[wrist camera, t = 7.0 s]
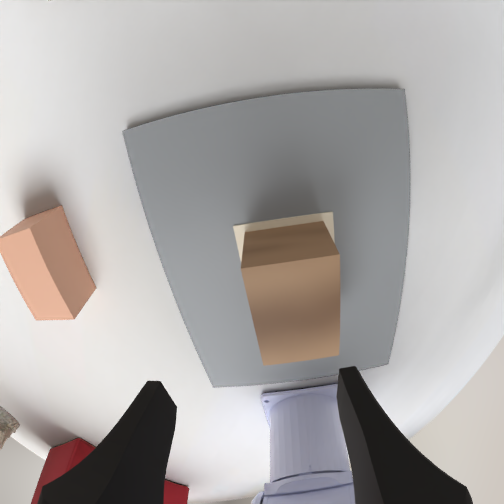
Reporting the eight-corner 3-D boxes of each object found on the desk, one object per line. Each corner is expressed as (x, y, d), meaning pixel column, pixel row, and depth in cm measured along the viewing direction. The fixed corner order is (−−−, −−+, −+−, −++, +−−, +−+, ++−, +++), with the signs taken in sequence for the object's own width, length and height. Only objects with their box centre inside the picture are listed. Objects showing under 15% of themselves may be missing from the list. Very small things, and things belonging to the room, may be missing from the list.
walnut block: (328, 313, 20) (339, 355, 16) (263, 322, 20) (263, 365, 17) (323, 220, 17) (339, 254, 13) (244, 232, 17) (240, 268, 13)
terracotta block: (97, 286, 20) (74, 319, 17) (59, 291, 21) (36, 320, 17) (63, 204, 17) (29, 227, 14) (26, 217, 18) (-5, 240, 14)
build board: (386, 359, 23) (388, 365, 23) (213, 382, 25) (213, 388, 24) (400, 89, 13) (405, 89, 13) (126, 130, 15) (121, 131, 14)
